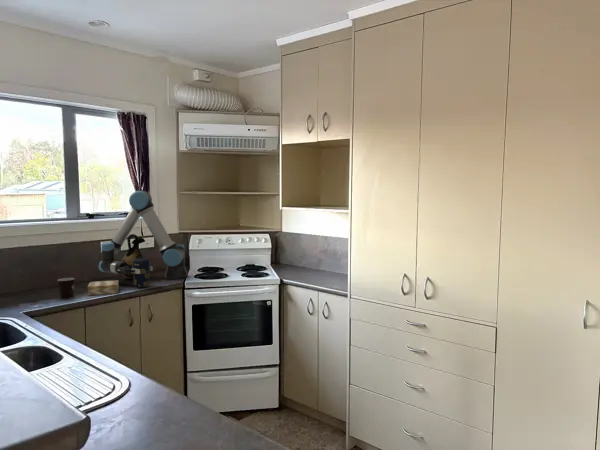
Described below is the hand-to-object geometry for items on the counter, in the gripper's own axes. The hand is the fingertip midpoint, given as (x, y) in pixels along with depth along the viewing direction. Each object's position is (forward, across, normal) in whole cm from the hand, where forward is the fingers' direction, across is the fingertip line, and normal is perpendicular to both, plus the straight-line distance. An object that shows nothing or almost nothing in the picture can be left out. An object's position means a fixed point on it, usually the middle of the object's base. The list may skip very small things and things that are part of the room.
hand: (145, 270), depth 276 cm
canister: (-4, 0, -11) cm, 11 cm away
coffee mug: (-25, +35, -11) cm, 44 cm away
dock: (-16, +18, -11) cm, 27 cm away
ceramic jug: (-32, -17, -10) cm, 38 cm away
